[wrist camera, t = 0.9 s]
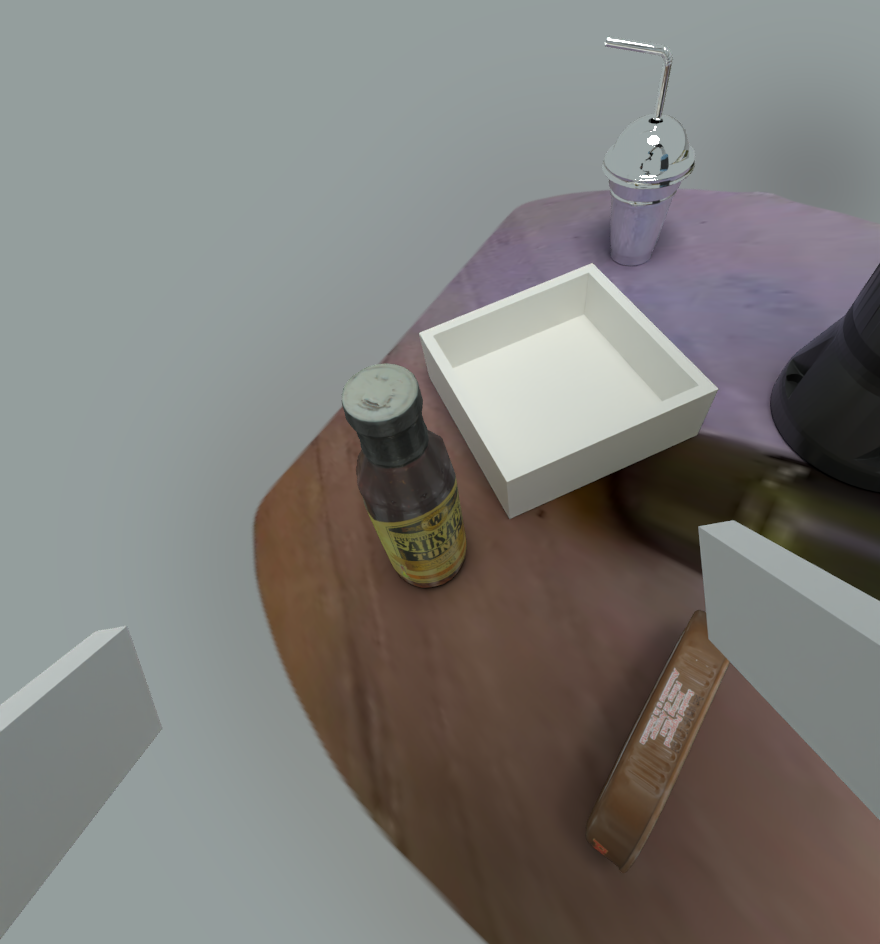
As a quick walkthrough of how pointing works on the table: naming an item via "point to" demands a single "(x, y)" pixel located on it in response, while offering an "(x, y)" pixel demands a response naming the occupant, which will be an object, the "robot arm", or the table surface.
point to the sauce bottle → (405, 476)
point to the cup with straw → (645, 169)
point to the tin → (657, 746)
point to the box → (563, 387)
